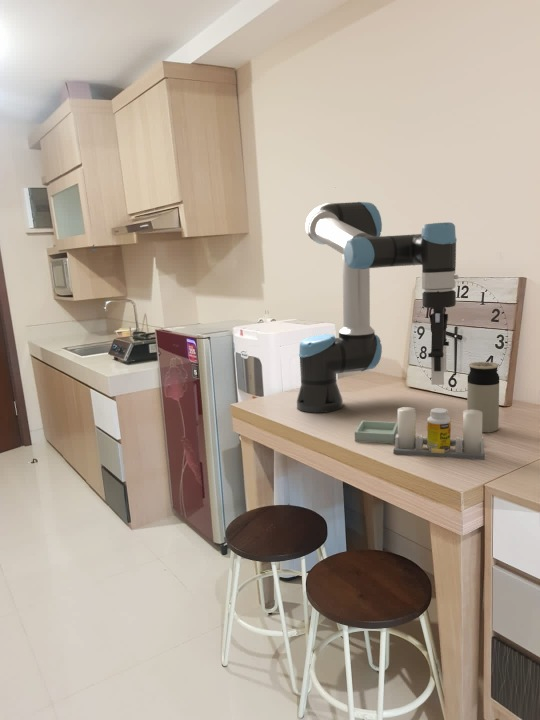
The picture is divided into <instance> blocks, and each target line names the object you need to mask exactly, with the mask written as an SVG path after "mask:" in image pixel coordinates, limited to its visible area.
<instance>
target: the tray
mask: <svg viewBox="0 0 540 720" xmlns="http://www.w3.org/2000/svg"><path fill="white" fill-rule="evenodd" d="M360 421H361V422H360V423H359V425H358V426H357V428H356V429H355V430H354V441H355V442H364V443H365V442H366V443H378V444H379V443H380V444H395V437H396V434H398V421H395V422H394V421H378V420H377V421H376V420H375V421H374V420H360Z"/></svg>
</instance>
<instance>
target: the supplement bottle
mask: <svg viewBox="0 0 540 720" xmlns="http://www.w3.org/2000/svg"><path fill="white" fill-rule="evenodd" d="M448 414H449V413H448V409H446V408H443V407H441V408H440V407H437V408H436V407H435V408H432V409H430V416H428V417H427V420H426V421H427V422H426V424H427V425H426V426H427V427H426V432H427V433H426V434H427V437H426V438H427V443H426V444H427V450H428V451H431V449H432V448H435V449H445V452H450V450H451V445H450V440H452V439H451V435H452V434H451V432H452V431H451V430H452V429H451V428H452V427H451V425H452V421H451V418H450V417H449V415H448Z"/></svg>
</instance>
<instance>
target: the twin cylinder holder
mask: <svg viewBox="0 0 540 720" xmlns="http://www.w3.org/2000/svg"><path fill="white" fill-rule="evenodd" d="M396 410H397V413H396V414H397V422H398V434H396V437H395V441H394V446H395V447H394V448H393V450H392V451H393V455H406V456H421V457H433V458H434V457H435V458H436V457H437V458H449V459H450V458H452V459H464V460H481V461H485V438H483V433H482V412H481V411H479V410H467V409H465V410H463V411H462V437H461V436H460V437H459V436H456V437H455V439H451V440H450V446H455V451H447V452H445V449H435V448H432V449H431V451H430V450H429V449H427V450H424V449H423V447H424V444H427V437H424V435H422V434H416V433H417V430H416V428H417V427H416V419H417V418H416V417H417V416H416V408H414V407H410V406H409V407H408V406H403V407H399V408H397V409H396Z"/></svg>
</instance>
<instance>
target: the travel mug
mask: <svg viewBox="0 0 540 720" xmlns="http://www.w3.org/2000/svg"><path fill="white" fill-rule="evenodd" d="M468 367H469V370H470V371H469V373H468V375H467V397H466V398H467V401H466V402H467V403H466V405H467V408H466V410H479V411H481V412H482V434H486V433H494V432H496V431H497V430H499V422H500V421H499V415H500V414H499V411H500V410H499V409H500V375H499V373H498V372H497V371H498V368H499V364H498V363H496V362H492V361H474V362H471V363H468Z"/></svg>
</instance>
